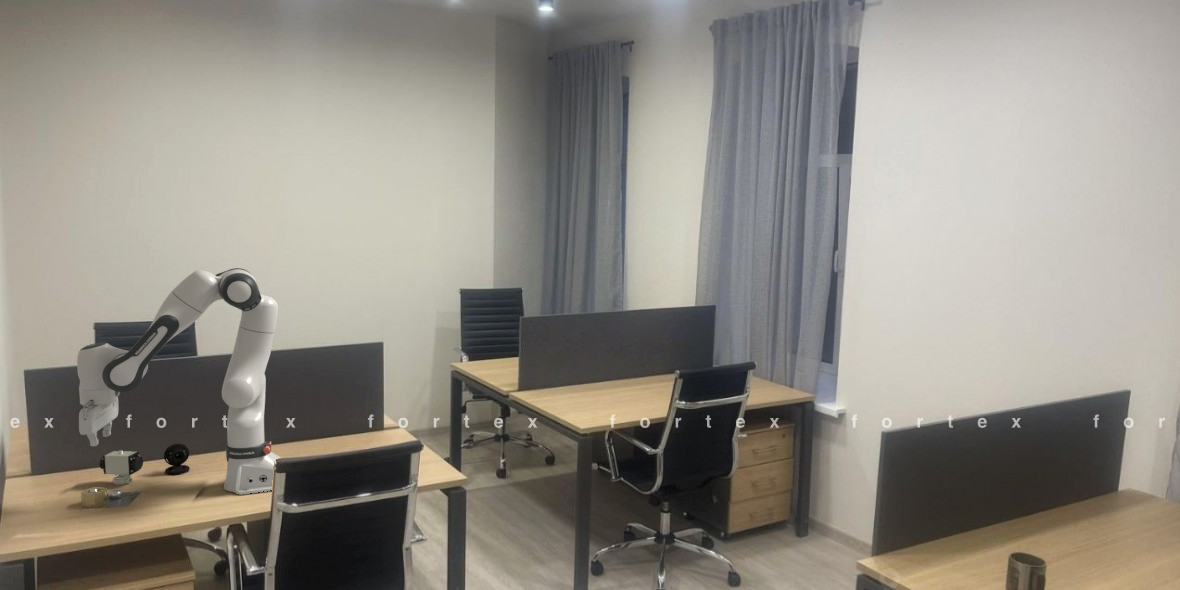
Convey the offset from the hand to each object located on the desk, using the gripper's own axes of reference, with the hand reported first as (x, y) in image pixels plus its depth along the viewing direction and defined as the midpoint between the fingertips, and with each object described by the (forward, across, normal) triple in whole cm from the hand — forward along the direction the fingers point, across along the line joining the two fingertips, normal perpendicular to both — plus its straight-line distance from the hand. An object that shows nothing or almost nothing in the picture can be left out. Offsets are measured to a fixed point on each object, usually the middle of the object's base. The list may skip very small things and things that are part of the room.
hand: (100, 440), depth 229 cm
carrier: (+20, 0, -2) cm, 20 cm away
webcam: (+20, +26, -13) cm, 36 cm away
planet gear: (+19, -2, +2) cm, 19 cm away
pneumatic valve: (+20, +15, 0) cm, 25 cm away
